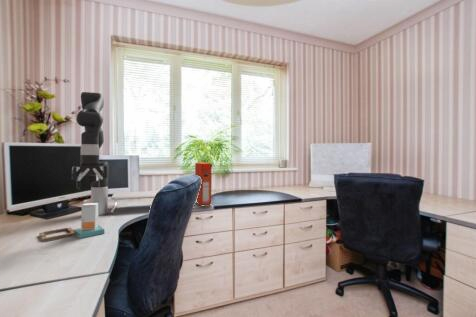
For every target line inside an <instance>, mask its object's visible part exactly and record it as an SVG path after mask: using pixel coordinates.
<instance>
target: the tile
mask: <svg viewBox="0 0 476 317" xmlns="http://www.w3.org/2000/svg"><path fill="white" fill-rule="evenodd" d="M73 230H74V231H75V232H76V235H75V236H76V237H78V238H79V240H81V239H84V238H89V237H95V236H99V235H103V234H105V228H103V227H102V226H100V225H99V224H98V227H97V228H96V229H95V230H81V227H78V228H74V229H73Z"/></svg>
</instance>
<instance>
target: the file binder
mask: <svg viewBox="0 0 476 317" xmlns="http://www.w3.org/2000/svg"><path fill="white" fill-rule="evenodd" d="M194 165H195V167H194V169H195V170H194V173H195V174H194V176H195V175H198V176H200V177H201V179H202V184H201V188H200V191H199V195H198V198H197V202H198V203H199V204H200V205H210V204H211V205H212V163H210V162H209V163H208V162H195V163H194ZM198 203H197V204H198ZM199 204H198V205H199ZM200 205H199V206H200ZM211 205H210V206H211Z"/></svg>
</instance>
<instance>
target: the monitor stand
mask: <svg viewBox="0 0 476 317" xmlns="http://www.w3.org/2000/svg"><path fill="white" fill-rule="evenodd" d="M158 191H159V190H146V191H145V190H144V191H143V190H142V191H139V190H138V191H118V192H114V193H113V194H112V196H111V197H110V199H111V200H114V204H113V207H112V209H111V211H110V213H109V214H110V215H113V213H114V212H115V210H116V207H117V204H118V203H117V202H118V201H120V200H139V199H155V198H154V196H155V195H156V193H157V192H158Z"/></svg>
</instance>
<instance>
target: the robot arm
mask: <svg viewBox="0 0 476 317" xmlns="http://www.w3.org/2000/svg"><path fill="white" fill-rule="evenodd" d="M80 103H81V110H79V112H78V113H77V115H76V119H75V120H76V122H77V125H79V126H81V127H84V131H83V132H81V138H80V140H81V141H80V159H79V160H80V165H79V166H71V178H70V179H71V180H73V181H76V183H75V185H76V186H75V188H77V189H78V190H81V188H82V181H81V180H82V179H83V178H84V177H86V176H92V177H97V179H98V180H96V181H93V182H91V183H90V203H98V216H102V215H107V214H108V213H109V211H108V210H109V173H110V166H109V165H110V164H109V162H107V161H100V148H101V147H102V146H103V144H104V131H103V129H102V125H103V123H104V117H103V115H102V114H101V113H100V112H101V111H102V110H103V109H104V104H105V103H104V96H103V94H102V93H99V92H92V91H91V92H90V91H89V92H88V91H82V92H81V93H80ZM78 171H80V173H79V174H78V176H77V172H78Z"/></svg>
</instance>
